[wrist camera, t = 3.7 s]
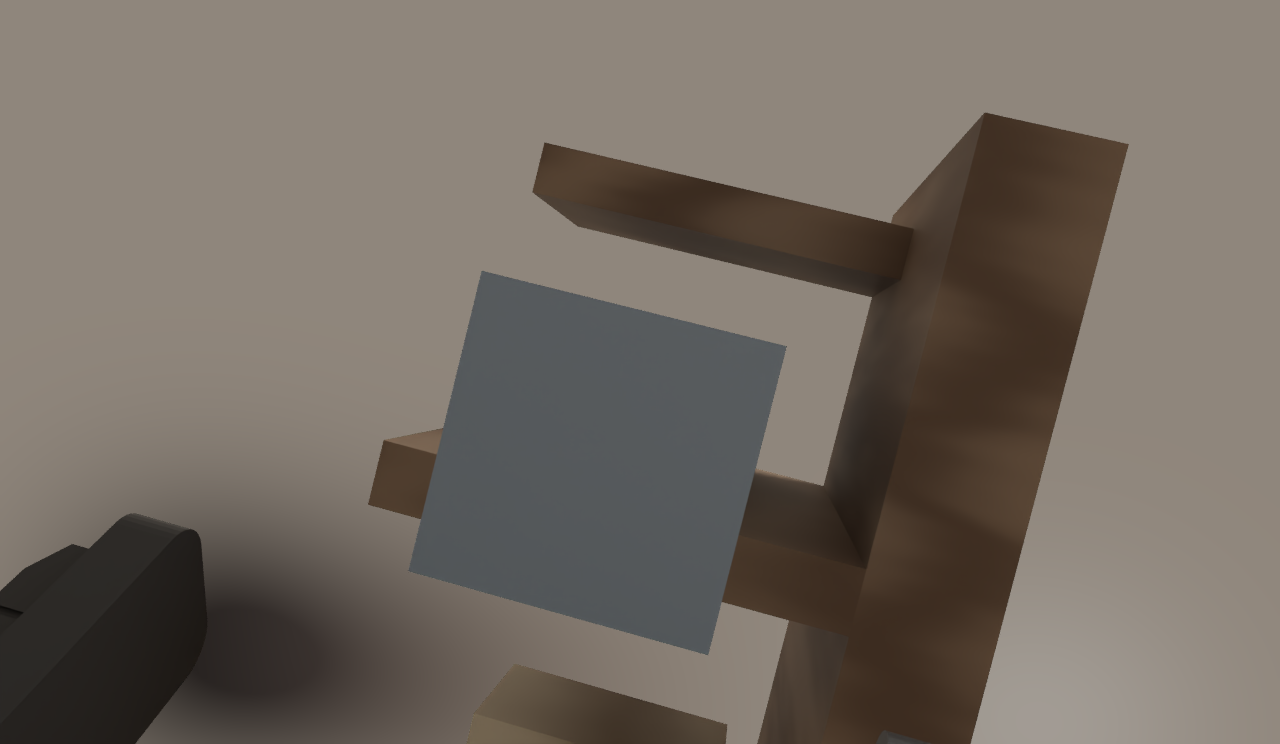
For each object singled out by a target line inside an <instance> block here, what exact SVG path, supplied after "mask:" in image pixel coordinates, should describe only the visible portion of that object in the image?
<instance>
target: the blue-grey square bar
mask: <svg viewBox="0 0 1280 744" xmlns="http://www.w3.org/2000/svg"><path fill="white" fill-rule="evenodd" d="M786 347H787V346H783V345H779V344H775V343H771V342H766V341H763V340H759V339H755V338H750V337H747V336H742V335H739V334H735V333H730V332H727V331H722V330H718V329H714V328H710V327H706V326H702V325H698V324H694V323H690V322H686V321H682V320H678V319H674V318H670V317H665V316H661V315H657V314H654V313H650V312H646V311H642V310H638V309H634V308H630V307H626V306H621V305H617V304H614V303H609V302H605V301H601V300H597V299H593V298H589V297H585V296H581V295H577V294H573V293H569V292H565V291H561V290H557V289H553V288H549V287H545V286H541V285H537V284H533V283H528V282H525V281H520V280H516V279H512V278H508V277H504V276H500V275H496V274H492V273H488V272H484V271H482V272H481V276H480V280H479V284H478V288H477V292H476V297H475V301H474V305H473V309H472V313H471V317H470V321H469V325H468V329H467V333H466V338H465V342H464V346H463V350H462V354H461V358H460V362H459V366H458V370H457V375H456V379H455V383H454V387H453V391H452V395H451V399H450V403H449V407H448V411H447V415H446V419H445V423H444V428H443V432H442V436H441V440H440V444H439V448H438V452H437V456H436V460H435V464H434V468H433V473H432V477H431V481H430V485H429V489H428V493H427V497H426V501H425V505H424V509H423V513H422V518H421V522H420V526H419V530H418V534H417V538H416V542H415V546H414V550H413V554H412V559H411V563H410V567H409V571H410V572H413V573H417V574H420V575H424V576H428V577H431V578H435V579H438V580H442V581H446V582H449V583H453V584H456V585H460V586H463V587H467V588H470V589H474V590H477V591H481V592H484V593H488V594H492V595H495V596H499V597H502V598H506V599H509V600H513V601H517V602H520V603H524V604H527V605H531V606H534V607H538V608H542V609H545V610H549V611H552V612H556V613H560V614H563V615H566V616H570V617H574V618H577V619H581V620H585V621H588V622H592V623H595V624H599V625H603V626H606V627H609V628H613V629H616V630H620V631H624V632H627V633H631V634H634V635H638V636H641V637H645V638H649V639H652V640H656V641H659V642H663V643H666V644H670V645H673V646H677V647H681V648H684V649H688V650H691V651H695V652H698V653H703V654H706V655H708V653H709V649H710V645H711V642H712V638H713V633H714V630H715V626H716V622H717V618H718V614H719V610H720V606H721V602H722V598H723V594H724V590H725V587H726V583H727V579H728V575H729V571H730V567H731V563H732V559H733V555H734V551H735V547H736V543H737V539H738V535H739V532H740V528H741V524H742V520H743V516H744V512H745V508H746V504H747V500H748V496H749V492H750V488H751V484H752V481H753V477H754V473H755V469H756V465H757V460H758V457H759V453H760V449H761V445H762V441H763V437H764V433H765V429H766V426H767V421H768V417H769V414H770V410H771V406H772V402H773V398H774V394H775V390H776V386H777V382H778V378H779V375H780V370H781V367H782V363H783V359H784V355H785V351H786Z"/></svg>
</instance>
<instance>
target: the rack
mask: <svg viewBox="0 0 1280 744" xmlns="http://www.w3.org/2000/svg"><path fill="white" fill-rule="evenodd" d="M1127 149H1128V144H1124V143H1120V142H1116V141H1111V140H1107V139H1102V138H1098V137H1093V136H1089V135H1084V134H1079V133H1075V132H1071V131H1066V130H1061V129H1057V128H1052V127H1048V126H1043V125H1039V124H1034V123H1029V122H1025V121H1021V120H1016V119H1012V118H1006V117H1002V116H998V115H993V114H989V113H984V114H983V115H982V116H981V118H980V119H979V120H978V121H977V122H976V123H975V124H974V125H973V127H972V128H971V129H970V130H969V131H968V132H967V133H966V134H965V135H964V137H963V138H962V139H961V140H960V141H959V142H958V143H957V144H956V146H955V147H954V148H953V149H952V150H951V151H950V152H949V153H948V155H947V156H946V157H945V158H944V159H943V160H942V161H941V163H940V164H939V165H938V166H937V167H936V168H935V169H934V170H933V171H932V173H931V174H930V175H929V176H928V177H927V178H926V180H924V181H923V183H922V184H921V185H920V186H919V187H918V188H917V189H916V190H915V192H914V193H913V194H912V195H911V196H910V197H909V198H908V199H907V201H906V202H905V203H904V204H903V205H902V206H901V207H900V209H899V210H898V211H897V212H896V213H895V214H894V215H893V218H892V222H891V223H887V222H883V221H878V220H874V219H870V218H866V217H861V216H857V215H853V214H848V213H844V212H840V211H836V210H831V209H827V208H823V207H818V206H814V205H810V204H805V203H801V202H797V201H793V200H788V199H784V198H780V197H775V196H771V195H767V194H762V193H758V192H754V191H750V190H746V189H741V188H737V187H733V186H728V185H724V184H720V183H716V182H711V181H707V180H703V179H698V178H694V177H690V176H686V175H681V174H676V173H672V172H668V171H663V170H660V169H656V168H651V167H647V166H643V165H638V164H634V163H630V162H626V161H621V160H617V159H613V158H608V157H604V156H600V155H596V154H591V153H587V152H583V151H578V150H574V149H570V148H566V147H561V146H557V145H552V144H548V143H544V147H543V151H542V155H541V159H540V163H539V168H538V172H537V176H536V180H535V184H534V188H533V193H534V194H535V195H537V196H538V197H539V198H541V199H542V200H543V201H545V202H546V203H547V204H549V205H550V206H551V207H553V208H554V209H555V210H557V211H558V212H560V213H561V214H562V215H563V216H565V217H566V218H567V219H569V220H570V221H571V222H573V223H574V224H575V225H577V226H578V227H583V228H587V229H591V230H595V231H599V232H604V233H608V234H612V235H616V236H620V237H624V238H628V239H633V240H637V241H641V242H645V243H649V244H654V245H658V246H661V247H666V248H670V249H674V250H678V251H682V252H687V253H691V254H695V255H699V256H703V257H708V258H711V259H715V260H720V261H724V262H728V263H732V264H736V265H741V266H745V267H749V268H753V269H757V270H761V271H765V272H769V273H774V274H778V275H782V276H786V277H790V278H794V279H798V280H803V281H807V282H811V283H815V284H819V285H823V286H827V287H832V288H836V289H840V290H844V291H849V292H852V293H857V294H861V295H865V296H869V297H872V300H871V304H870V308H869V312H868V316H867V319H866V323H865V327H864V331H863V335H862V339H861V343H860V346H859V350H858V354H857V358H856V362H855V366H854V370H853V374H852V378H851V382H850V385H849V389H848V393H847V397H846V401H845V405H844V409H843V413H842V417H841V420H840V424H839V428H838V433H837V436H836V440H835V444H834V448H833V452H832V455H831V459H830V464H829V467H828V471H827V475H826V479H825V483H824V486H820V485H817V484H813V483H809V482H805V481H801V480H797V479H794V478H790V477H785V476H782V475H778V474H774V473H771V472H767V471H763V470H759V469H755V473H754V477H753V481H752V484H751V488H750V492H749V496H748V500H747V504H746V508H745V512H744V516H743V520H742V524H741V528H740V532H739V535H738V539H737V543H736V547H735V551H734V555H733V559H732V563H731V567H730V571H729V575H728V579H727V583H726V587H725V590H724V594H723V598H722V602H725V603H728V604H732V605H735V606H739V607H743V608H746V609H750V610H753V611H757V612H761V613H764V614H768V615H772V616H776V617H779V618H783V619H786V620H789V623H788V627H787V631H786V634H785V639H784V642H783V646H782V650H781V654H780V658H779V662H778V666H777V669H776V673H775V677H774V681H773V685H772V689H771V693H770V697H769V701H768V704H767V708H766V712H765V716H764V720H763V724H762V728H761V732H760V736H759V739H758V743H757V744H876V742H877V740H878V738H879V736H880V734H881V733H882V731H884V730H886V731H889V732H893V733H896V734H900V735H903V736H907V737H910V738H914V739H917V740H921V741H924V742H928V743H931V744H970V743H971V739H972V736H973V732H974V728H975V725H976V721H977V717H978V713H979V709H980V706H981V702H982V698H983V694H984V690H985V687H986V683H987V679H988V675H989V671H990V668H991V664H992V660H993V656H994V652H995V649H996V645H997V641H998V637H999V634H1000V630H1001V626H1002V622H1003V618H1004V614H1005V611H1006V607H1007V603H1008V599H1009V596H1010V592H1011V588H1012V584H1013V580H1014V577H1015V573H1016V569H1017V565H1018V562H1019V558H1020V554H1021V550H1022V546H1023V543H1024V539H1025V535H1026V531H1027V527H1028V523H1029V520H1030V516H1031V512H1032V508H1033V505H1034V500H1035V497H1036V493H1037V490H1038V485H1039V482H1040V478H1041V474H1042V471H1043V467H1044V463H1045V459H1046V455H1047V451H1048V447H1049V444H1050V440H1051V437H1052V432H1053V429H1054V425H1055V421H1056V418H1057V414H1058V410H1059V406H1060V402H1061V399H1062V395H1063V391H1064V387H1065V383H1066V380H1067V376H1068V372H1069V368H1070V364H1071V361H1072V357H1073V353H1074V349H1075V345H1076V341H1077V337H1078V334H1079V330H1080V326H1081V323H1082V319H1083V315H1084V311H1085V307H1086V304H1087V299H1088V296H1089V292H1090V289H1091V285H1092V281H1093V277H1094V273H1095V269H1096V266H1097V262H1098V258H1099V255H1100V251H1101V247H1102V243H1103V239H1104V236H1105V232H1106V228H1107V224H1108V221H1109V217H1110V213H1111V209H1112V205H1113V201H1114V198H1115V193H1116V190H1117V186H1118V183H1119V178H1120V175H1121V171H1122V167H1123V163H1124V159H1125V156H1126V152H1127ZM442 432H443V428H442V429H437V430H432V431H427V432H422V433H417V434H412V435H407V436H402V437H397V438H392V439H387V440H384V441H383V445H382V450H381V454H380V458H379V462H378V466H377V470H376V474H375V478H374V482H373V487H372V491H371V495H370V499H369V503H368V504H369V505H371V506H375V507H379V508H382V509H386V510H390V511H393V512H397V513H401V514H404V515H408V516H411V517H415V518H419V519H421V518H422V513H423V509H424V505H425V501H426V497H427V493H428V489H429V485H430V481H431V477H432V473H433V468H434V464H435V460H436V456H437V452H438V448H439V444H440V440H441V436H442ZM726 732H727V724H723V723H720V722H716V721H713V720H709V719H706V718H702V717H699V716H696V715H692V714H688V713H685V712H682V711H678V710H675V709H671V708H668V707H664V706H661V705H657V704H654V703H650V702H647V701H643V700H640V699H636V698H633V697H629V696H626V695H622V694H619V693H615V692H611V691H608V690H605V689H601V688H598V687H594V686H591V685H587V684H584V683H580V682H577V681H573V680H570V679H566V678H563V677H560V676H556V675H553V674H549V673H546V672H542V671H539V670H535V669H531V668H528V667H524V666H521V665H517V664H514V665H513V667H512V668H511V669H510V670H509V671H508V673H507V674H506V675H505V676H504V677H503V679H502V680H501V681H500V682H499V684H498V685H497V686H496V687H495V688H494V690H493V691H492V692H491V693H490V695H489V696H488V697H487V698H486V700H485V701H484V702H483V703H482V704H481V705H480V707H479V708H478V709H477V710H476V712H475V713H474V715H473V720H472V723H471V727H470V731H469V735H468V739H467V744H725V743H726Z"/></svg>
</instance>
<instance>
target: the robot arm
mask: <svg viewBox="0 0 1280 744" xmlns="http://www.w3.org/2000/svg"><path fill="white" fill-rule="evenodd" d="M206 632H207V612H206V599H205V586H204V574H203V561H202V549H201V541H200V537H199V535H198V533H197V532H196V531H194V530H192V529H188V528H185V527H181V526H178V525H174V524H171V523H167V522H164V521H160V520H157V519H153V518H150V517H146V516H143V515H139V514H129V515H126V516H124V517H122V518H121V519H119V520H118V521H117V522H116V523H115V524H114V525H113V526H112V527H111V528H110V529H109V530H108V531H107V532H106V533H105V534H104V535H103V536H102V537H101V538H100V539H99V540H98V541H97V542H95V543H94V544H93V545H92V546H91V547H90V548H89V549H87V548H84V547H80V546H77V545H74V544H72V545H70V546H68V547H66V548H64V549H62V550H60V551H58V552H56V553H54V554H52V555H50V556H48V557H46V558H44V559H42V560H40V561H38V562H36V563H34V564H32V565H30V566H28V567H26V568H25V569H24V570H22V571H21V572H20V573H19V574H18V575H17V576H16V577H15V578H14V579H13V580H12V581H11V582H9V583H8V584H7V585H6V586H5V587H4V588H3V589H2V590H1V591H0V744H135V743H136V742H137V740H138V739H139V738H140V737H141V736H142V734H143V733H144V732H145V730H146V729H147V728H148V727H149V725H150V724H151V723H152V721H153V720H154V719H155V718H156V716H157V715H158V714H159V712H160V711H161V710H162V709H163V707H164V706H165V705H166V704H167V702H168V701H169V700H170V698H171V697H172V696H173V695H174V693H175V692H176V691H177V689H178V688H179V687H180V686H181V684H182V683H183V682H184V680H185V679H186V678H187V676H188V675H189V674H190V672H191V671H192V669H193V667H194V666H195V664H196V662H197V660H198V657H199V655H200V653H201V650H202V647H203V644H204V641H205V636H206ZM876 744H931V743H928V742H924V741H921V740H917V739H914V738H910V737H907V736H903V735H900V734H896V733H893V732H889V731H886V730H884V731H882V733H881V734H880V736H879V738H878V740H877V742H876Z"/></svg>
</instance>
